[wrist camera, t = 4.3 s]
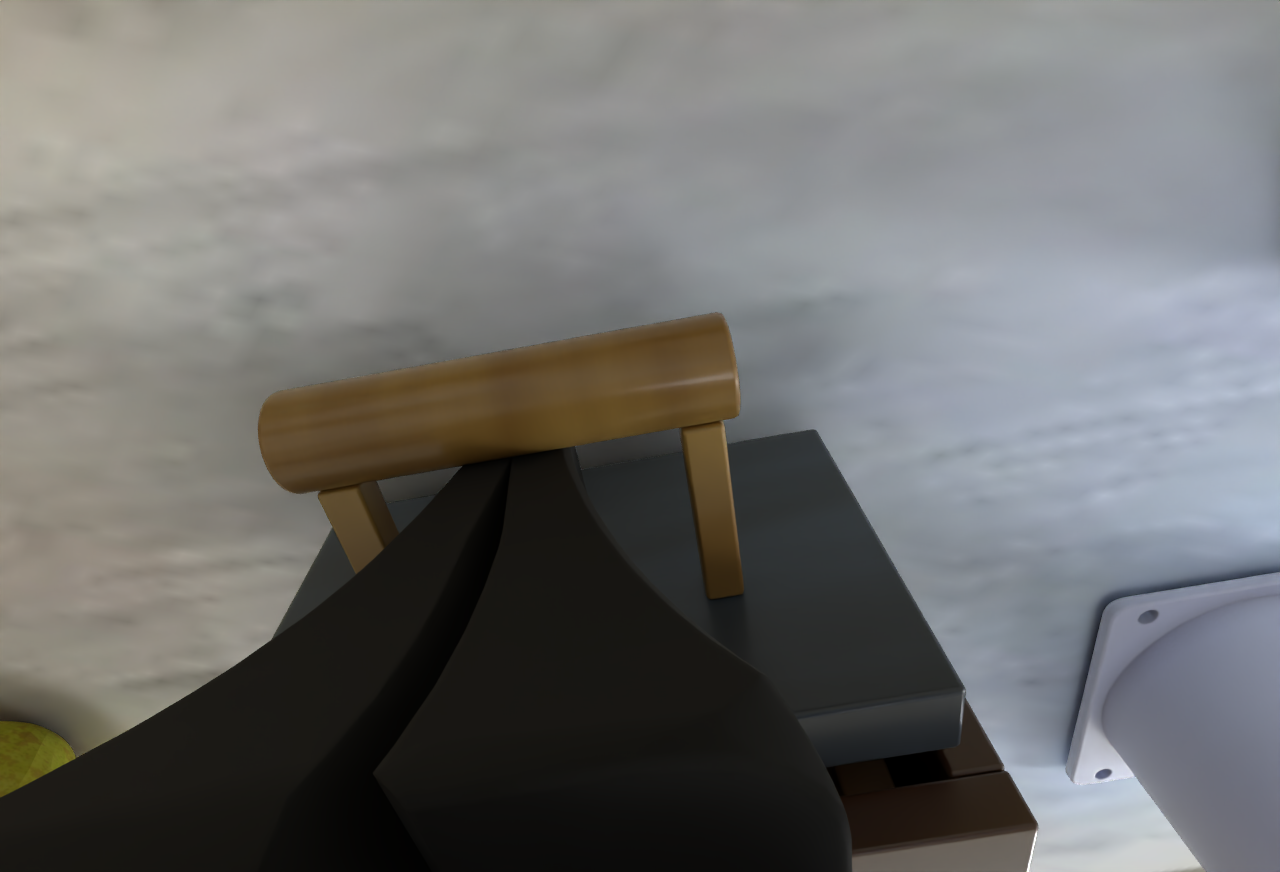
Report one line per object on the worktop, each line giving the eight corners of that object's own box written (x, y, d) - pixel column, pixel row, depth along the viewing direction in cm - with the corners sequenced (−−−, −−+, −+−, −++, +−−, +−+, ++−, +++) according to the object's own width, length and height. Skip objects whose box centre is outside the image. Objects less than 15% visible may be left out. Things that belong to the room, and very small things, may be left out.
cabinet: (353, 545, 16) (152, 962, 9) (833, 462, 16) (1041, 826, 9) (503, 853, 23) (460, 1236, 16) (843, 800, 23) (964, 1167, 15)
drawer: (246, 314, 13) (-63, 552, 7) (807, 211, 12) (1005, 365, 6) (495, 832, 21) (457, 1139, 15) (831, 780, 21) (925, 1073, 15)
